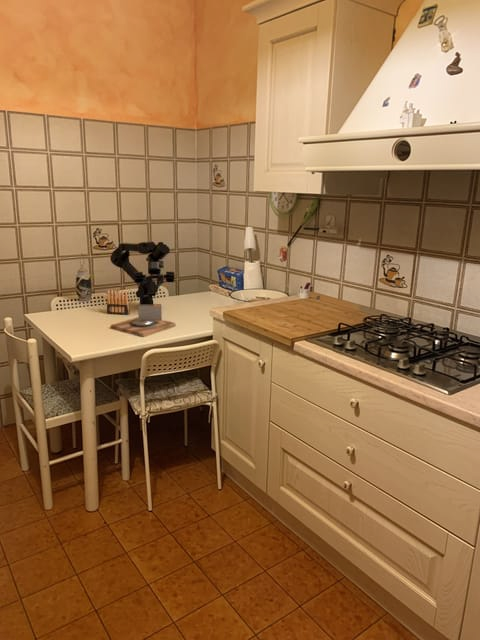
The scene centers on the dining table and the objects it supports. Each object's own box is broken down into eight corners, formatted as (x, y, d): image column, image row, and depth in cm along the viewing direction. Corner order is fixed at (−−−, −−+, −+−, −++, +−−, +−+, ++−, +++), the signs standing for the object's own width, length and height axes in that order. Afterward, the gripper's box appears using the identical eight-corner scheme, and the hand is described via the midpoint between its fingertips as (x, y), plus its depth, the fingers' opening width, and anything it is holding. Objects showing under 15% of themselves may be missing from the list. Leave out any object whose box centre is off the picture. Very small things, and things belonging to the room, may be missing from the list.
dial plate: (110, 328, 216) (110, 324, 215) (143, 318, 232) (143, 315, 231) (143, 337, 205) (143, 333, 205) (175, 326, 221) (175, 322, 221)
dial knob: (131, 326, 212) (130, 308, 210) (132, 320, 222) (131, 302, 219) (162, 325, 215) (161, 307, 212) (161, 319, 224) (160, 301, 222)
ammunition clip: (129, 314, 239) (128, 290, 235) (128, 315, 237) (127, 290, 233) (108, 313, 240) (107, 288, 236) (106, 314, 238) (105, 289, 235)
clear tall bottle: (89, 302, 259) (86, 254, 252) (74, 301, 259) (70, 254, 252) (94, 298, 268) (91, 252, 261) (79, 297, 268) (76, 251, 261)
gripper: (133, 254, 228) (133, 283, 221) (174, 254, 231) (175, 282, 224) (134, 268, 238) (134, 296, 230) (173, 268, 241) (175, 295, 234)
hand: (155, 292), depth 229 cm, fingers closed
